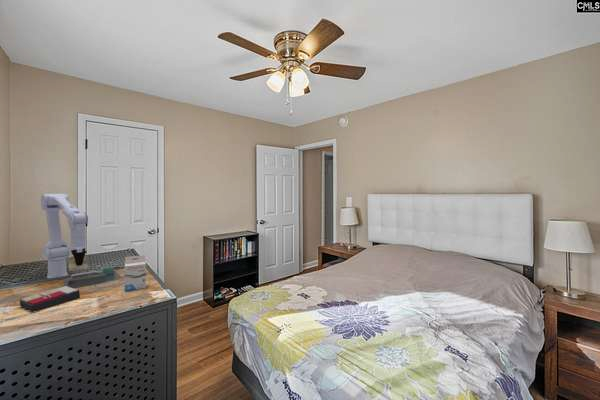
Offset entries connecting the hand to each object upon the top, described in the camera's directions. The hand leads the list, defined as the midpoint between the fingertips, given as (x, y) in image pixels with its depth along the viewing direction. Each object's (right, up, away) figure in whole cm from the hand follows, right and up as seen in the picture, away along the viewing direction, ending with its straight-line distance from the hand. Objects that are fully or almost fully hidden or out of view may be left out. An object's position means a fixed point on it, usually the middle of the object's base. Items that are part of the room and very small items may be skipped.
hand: (79, 264), depth 130 cm
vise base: (+4, -9, +4) cm, 11 cm away
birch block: (0, -2, 0) cm, 2 cm away
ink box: (+33, -10, -7) cm, 35 cm away
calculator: (+8, -10, -23) cm, 27 cm away
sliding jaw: (+1, -8, +8) cm, 12 cm away
